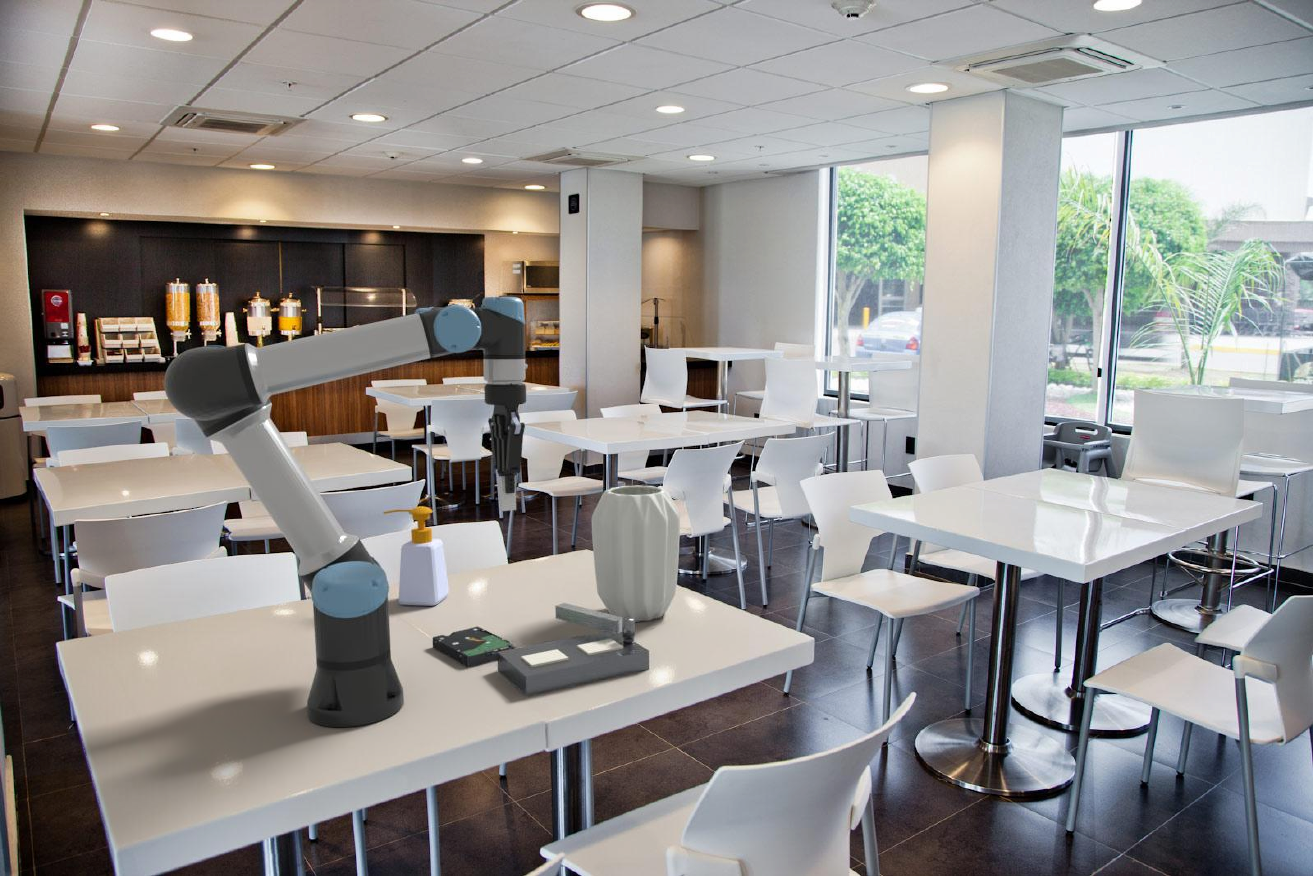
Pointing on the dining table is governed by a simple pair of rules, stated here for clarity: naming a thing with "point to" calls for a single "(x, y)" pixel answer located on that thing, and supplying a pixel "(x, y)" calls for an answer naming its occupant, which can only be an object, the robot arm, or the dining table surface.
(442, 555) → the soap bottle
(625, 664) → the plate
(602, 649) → the label
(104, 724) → the dining table surface
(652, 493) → the vase
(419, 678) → the dining table surface
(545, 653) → the label
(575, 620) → the gray rectangular bar
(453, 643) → the disk drive
